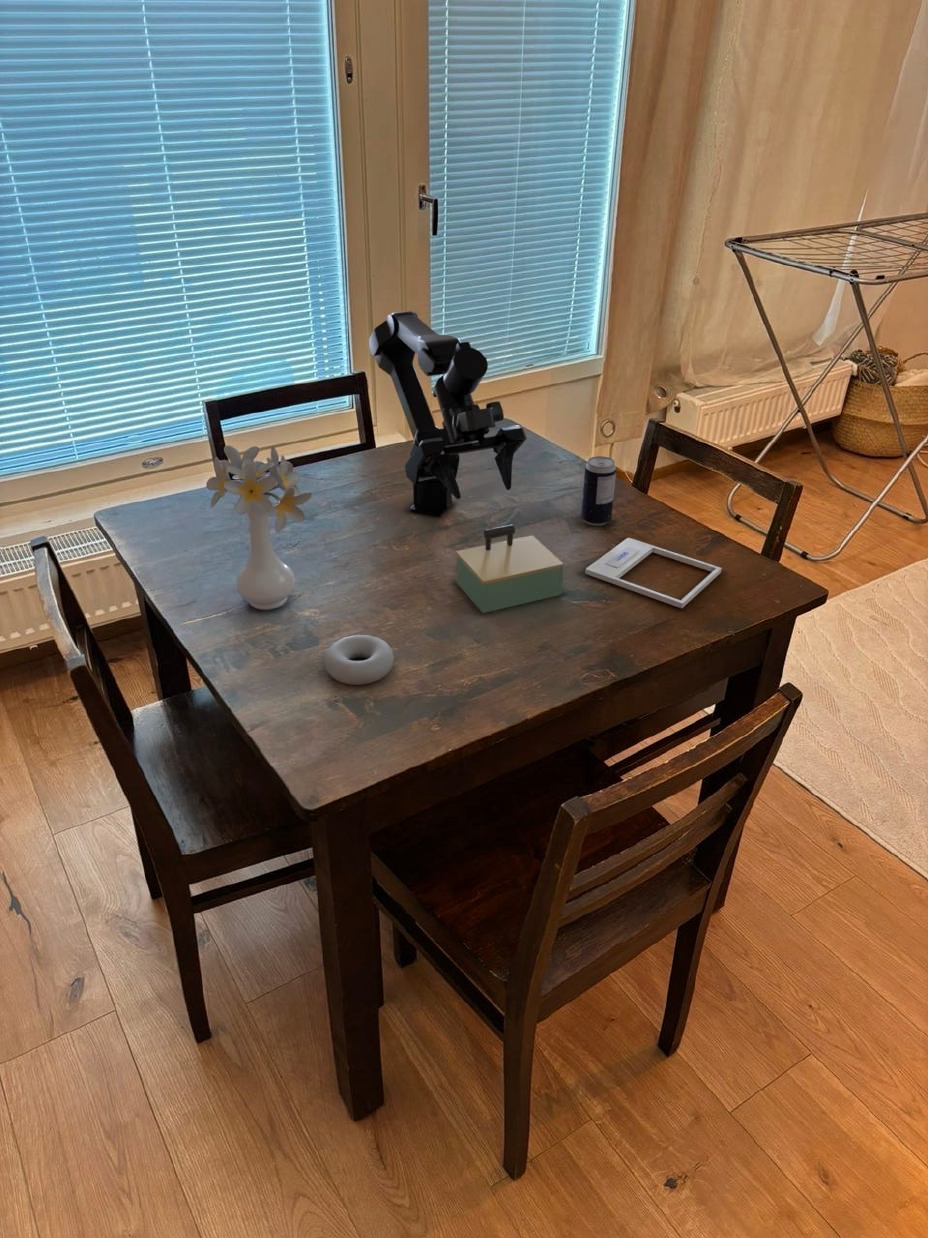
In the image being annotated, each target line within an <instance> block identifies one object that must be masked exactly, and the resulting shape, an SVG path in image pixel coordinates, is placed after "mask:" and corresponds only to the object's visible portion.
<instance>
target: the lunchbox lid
mask: <svg viewBox="0 0 928 1238" xmlns="http://www.w3.org/2000/svg"><path fill="white" fill-rule="evenodd" d="M515 533H516V528H515V526H514V524H507V525H502V526H497V527H492V528H487V529H484V530H483V537H484V540H485V543H484V545H478V546H474V547H469V548H464V549H459V550H455V556H458V557H459V558H460V559H461V560H462V561H463V563H464V564H465V565H466V566H467V567H468V568H469V569H470V570H471V571H472V573H473V574H474V575H475V576H476V577H477V578H478V579H479V580H480V581H481V582H482V584H483V585H484V584H489V583H493V582H498V581H502V580H507V579H511V578H516V577H520V576H525V575H529V574H534V573H538V572H543V571H547V570H552V569H556V568H561V567H563V568H564V566H565V564H564V562H563V561H561V560H560V559H559V558H558V557H557V556H556V555H555V554H554V553H553V552H551V550H549V548H547V547H546V546H545V545H544V544H543V543H541V542H540V540H539V539H537V538H536V537H535V536H534V535H533V534H532V535H527V536H522V537H518V538H514V535H515ZM506 536H507V538H506V540H503V541H497V542H493V543H492V539H496V538H501V537H506Z"/></svg>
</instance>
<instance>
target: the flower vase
mask: <svg viewBox="0 0 928 1238" xmlns="http://www.w3.org/2000/svg"><path fill="white" fill-rule="evenodd" d="M223 451H224V452H223V453H224V454H225V456H226V457H227V460H226V459H221V460H220V459H219V458H218V457H217V456H215V457H214V459H213V469H214V472H215V474H216V475H217V476H212V477H209V479H207V481H206V483H205V484H206V485H205V486H206V487H205V488H206V489H207V490H208V491H215V492H214V493H213V495H212V497H211V501H210V508H211V509H212V508H214V507H215V505H216V504H217V503H218V502H219V501H220V499H223V498H224V496H225V494H226V493H227V492H228V493H230V494H233V495H235V496H239V498H237V501H236V504H235V512H236V514H237V515H239V516H242V515H245V514H246V515H247V516H246V517H247V521H248V530H249V540H250V541H249V542H250V552H249V557H248V559H247V560H248V561H247V563H246V564H245V565H244V566H243V567H242V568H241V569H240V571H239V572H238V574H237V578H236V582H235V583H236V584H235V586H236V591H237V593H238V594H239V596H241V597H242V598H243V599H244V600H246V601H247V602H248V603H249V605H250V606H251V607H253V608H254V609H256V610H261V611H267V610H268V611H269V610H275V609H278V608H280V607H282V606H283V605H285V604H286V602H287V601H288V597H289V596H290V595H291V594H292V593H293V591H294V590H295V587H296V583H297V579H296V576H295V574H294V571H293V570H292V568H291V567H290V566H289V565H288V564H286V563H285V562H283V561H282V560H280V558H279V557H278V555H277V554H276V551H275V550H274V546H273V542H272V537H271V536H272V535H271V532H270V531H271V530H270V524H269V517H270V518H271V517H276V520H275V524H274V530H275V532H276V533H281V532H282V531H283V529H284V528H285V526H286V525H287V521H288V518H289V519H290V520H291V521H292V522H295V523H303V522H304V520H305V518H306V515H305V513H304V510H302V509H301V508H300V507H299V506H300V505H303V504H305V503H307V501H309V500H310V499H311V497H312V492H310V491H306V492H301V490H300V489H299V487H298V486H297V485H298V484H299V483H300V481H301V475H300V473H299V471H296V470H294V466H293V464H292V463H291V462H290V461H287V460H286V457H285V455H283V454H281V456H280V457H279V454H278V451H277V449H276V448H275V446H273V445H271V447H270V457H267V458H266V463H265V462H263V461H259V460H255V459H256V458H257V456H258V455H259V453H260V448H259V447H258V446H256V445H255V446H251V447H249V448H247V449H246V450H245V451H244V452H243V454H242V455H241V453H240V451H238V449H237V448H236V447H234V446H232V445H225V446H224V447H223ZM230 475H233V476H232V478H231V477H230ZM232 479H233V480H232ZM277 489H280V490H281V491H283V492H284V494H283V495H282V496H281V498H280V496H278V495H277V494H275V493H274V492H271V491H274V490H277ZM270 496H271V497H272V498H274V499H275V500H277V502H276V504H274V505H273V504H272V502H271V500H270Z"/></svg>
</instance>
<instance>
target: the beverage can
mask: <svg viewBox="0 0 928 1238" xmlns="http://www.w3.org/2000/svg"><path fill="white" fill-rule="evenodd" d="M583 475H584V476H583V487H582V499H581V511H580V512H581V513H580V517H581V519H582V520H583V521H584V523H586V524H587V525H589V526H593V527H601V526H604V525H606V524H607V523H608V522H610V521H611V520H612V517H613V507H614V506H613V505H614V497H615V496H614V495H615V488H616V487H615V486H616V477H617V476H616V475H617V466H616V462H615V460H614V459H613V458H611V457H609V456H603V455H602V456H601V455H596V456H591V457H589V458H588V459H587V463H586V464H585V465H584V474H583Z"/></svg>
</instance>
